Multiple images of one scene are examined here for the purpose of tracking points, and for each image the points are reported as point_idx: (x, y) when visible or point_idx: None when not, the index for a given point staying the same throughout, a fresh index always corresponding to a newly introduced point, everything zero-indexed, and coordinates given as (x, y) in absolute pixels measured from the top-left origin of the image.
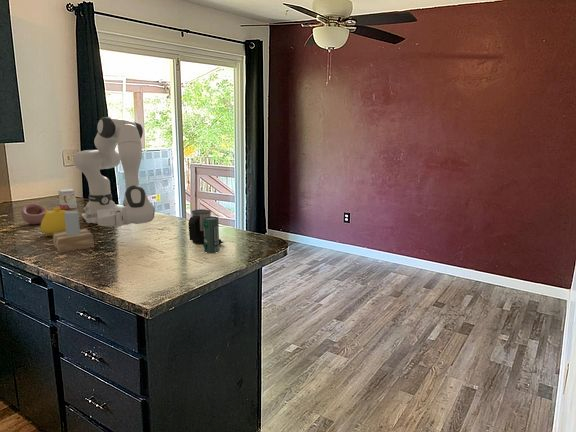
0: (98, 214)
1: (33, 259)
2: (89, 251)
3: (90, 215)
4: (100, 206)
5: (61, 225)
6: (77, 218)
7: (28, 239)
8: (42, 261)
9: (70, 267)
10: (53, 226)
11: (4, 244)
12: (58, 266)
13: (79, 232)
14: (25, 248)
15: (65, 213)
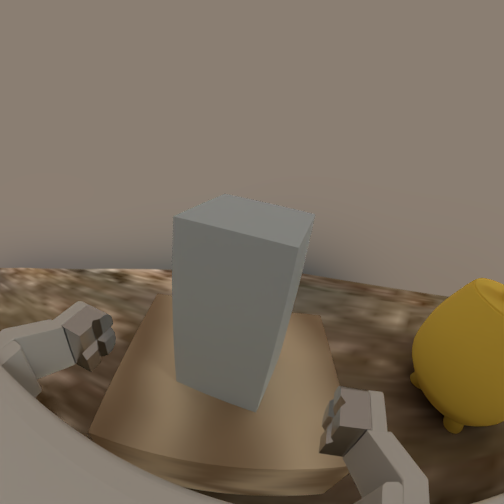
0: (51, 435)
1: (153, 281)
2: (60, 406)
3: (356, 441)
4: None
5: (436, 352)
6: (172, 271)
7: (408, 321)
8: (112, 284)
9: (4, 292)
10: (425, 330)
11: (368, 284)
12: (37, 285)
13: (223, 397)
14: (300, 300)
15: (223, 195)
